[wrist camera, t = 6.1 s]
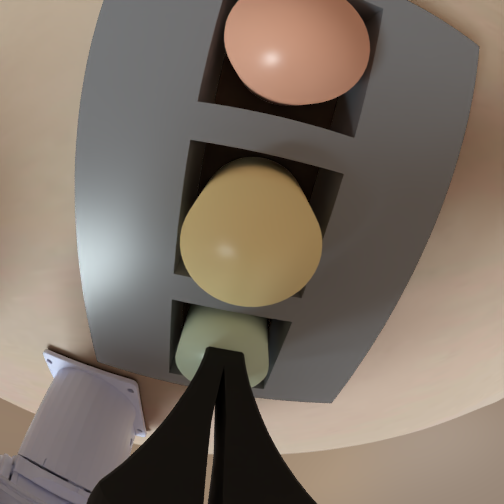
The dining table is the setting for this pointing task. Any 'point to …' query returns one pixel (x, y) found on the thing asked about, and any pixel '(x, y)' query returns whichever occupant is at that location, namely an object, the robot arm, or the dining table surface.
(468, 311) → the dining table surface
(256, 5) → the button terracotta
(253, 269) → the button ochre
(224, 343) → the button sage
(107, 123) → the button panel
